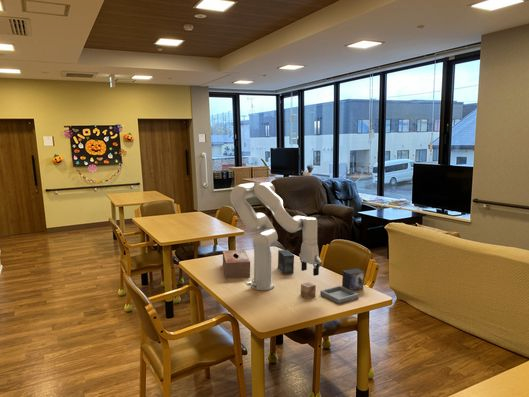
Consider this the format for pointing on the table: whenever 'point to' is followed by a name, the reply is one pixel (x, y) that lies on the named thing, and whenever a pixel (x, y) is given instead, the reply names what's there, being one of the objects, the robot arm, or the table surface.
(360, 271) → the small box
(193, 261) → the table surface
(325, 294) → the tray
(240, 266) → the tissue box cover
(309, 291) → the block
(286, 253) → the small box
